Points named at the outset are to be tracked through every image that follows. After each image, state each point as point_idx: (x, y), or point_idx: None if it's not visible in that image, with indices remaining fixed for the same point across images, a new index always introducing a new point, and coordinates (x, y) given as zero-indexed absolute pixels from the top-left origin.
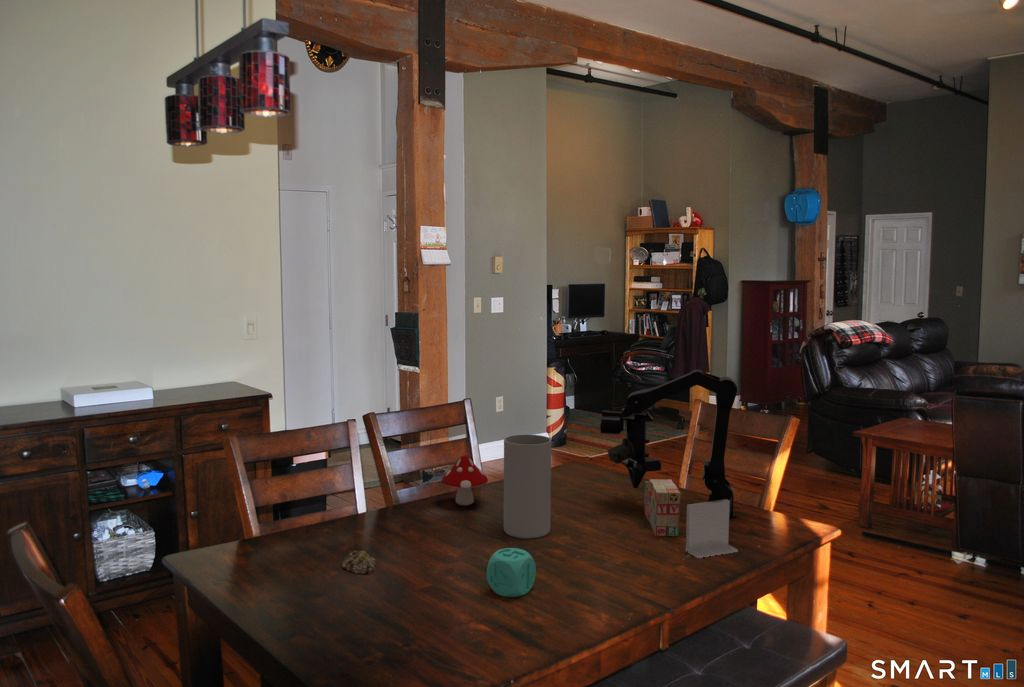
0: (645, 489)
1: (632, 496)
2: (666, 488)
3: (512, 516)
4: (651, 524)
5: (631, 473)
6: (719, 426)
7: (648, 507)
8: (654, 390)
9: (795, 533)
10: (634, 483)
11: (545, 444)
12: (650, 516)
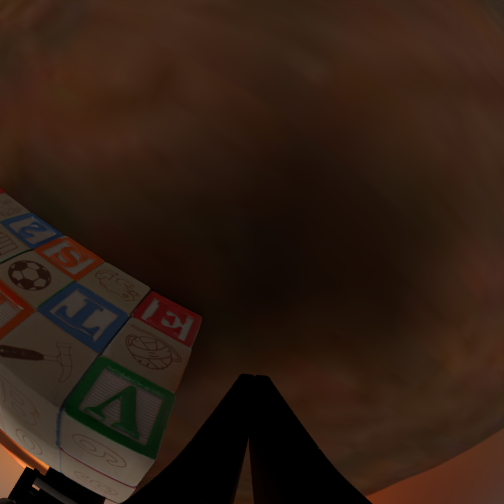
0: (76, 373)
1: (410, 386)
2: None
3: None
4: (7, 202)
5: (275, 488)
6: None
7: (23, 257)
8: None
9: (2, 436)
10: (222, 401)
11: None
12: (7, 222)
